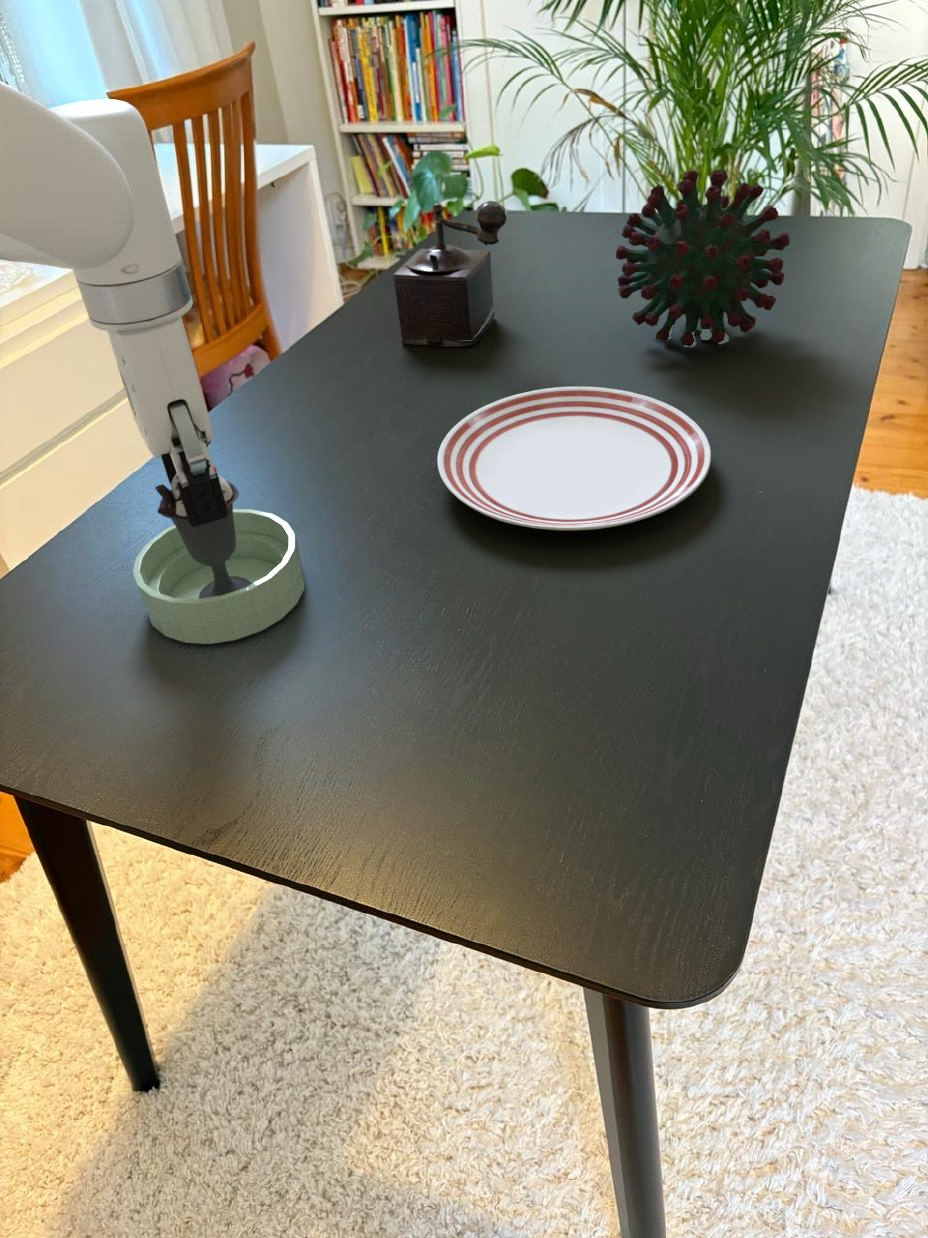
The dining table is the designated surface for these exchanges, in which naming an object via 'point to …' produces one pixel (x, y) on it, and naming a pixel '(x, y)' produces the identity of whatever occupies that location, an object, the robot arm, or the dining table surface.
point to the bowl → (179, 580)
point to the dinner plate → (574, 458)
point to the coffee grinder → (449, 285)
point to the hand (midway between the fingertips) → (198, 498)
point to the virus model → (700, 258)
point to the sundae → (206, 536)
